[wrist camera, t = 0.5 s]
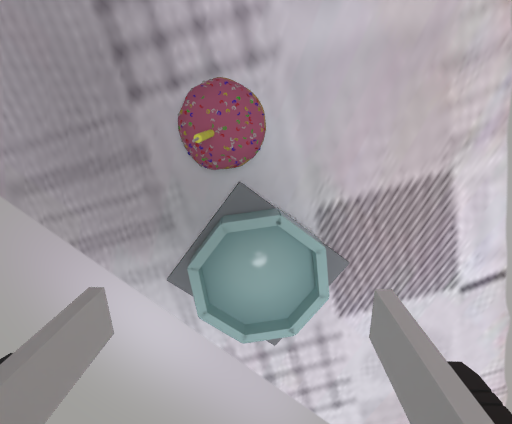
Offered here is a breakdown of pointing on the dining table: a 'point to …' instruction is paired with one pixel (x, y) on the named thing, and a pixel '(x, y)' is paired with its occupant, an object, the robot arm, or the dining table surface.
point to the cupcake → (221, 124)
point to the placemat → (236, 204)
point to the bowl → (259, 276)
